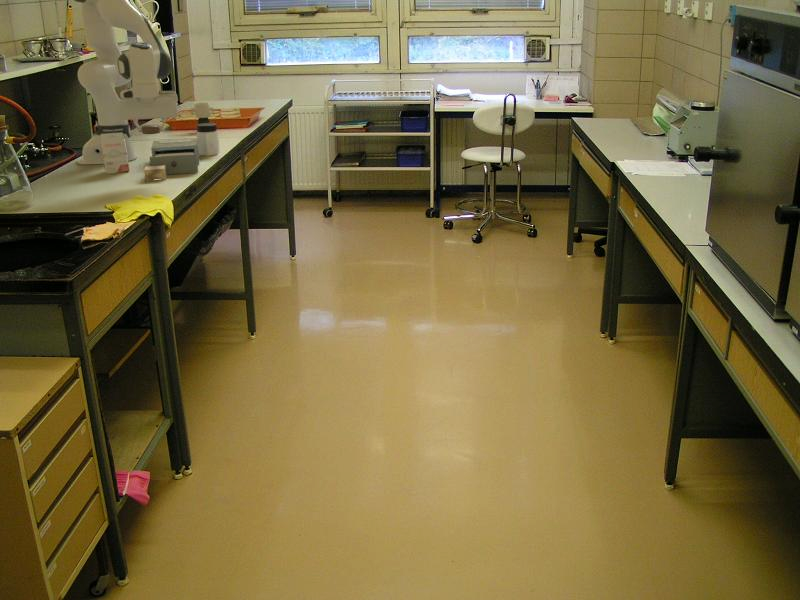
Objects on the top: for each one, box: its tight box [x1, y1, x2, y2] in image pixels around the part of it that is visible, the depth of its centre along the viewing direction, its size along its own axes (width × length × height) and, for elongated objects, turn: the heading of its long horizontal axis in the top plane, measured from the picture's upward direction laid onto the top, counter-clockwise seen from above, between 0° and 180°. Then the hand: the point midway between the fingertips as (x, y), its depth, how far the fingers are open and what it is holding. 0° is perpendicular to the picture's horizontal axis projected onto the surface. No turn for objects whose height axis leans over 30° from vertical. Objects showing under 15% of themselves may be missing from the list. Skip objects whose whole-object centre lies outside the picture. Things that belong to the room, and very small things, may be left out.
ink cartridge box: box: [100, 132, 130, 174], centre depth 319 cm, size 9×5×15 cm, turn 105°
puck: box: [141, 124, 161, 135], centre depth 303 cm, size 6×6×2 cm
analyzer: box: [150, 138, 200, 166], centre depth 334 cm, size 17×16×8 cm
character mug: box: [190, 102, 215, 124], centre depth 404 cm, size 11×7×13 cm, turn 92°
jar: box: [195, 122, 221, 157], centre depth 349 cm, size 9×8×12 cm
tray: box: [149, 152, 199, 175], centre depth 320 cm, size 17×17×7 cm
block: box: [143, 165, 167, 181], centre depth 307 cm, size 7×7×4 cm
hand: (151, 131), depth 303 cm, fingers closed on puck, 6 cm apart
